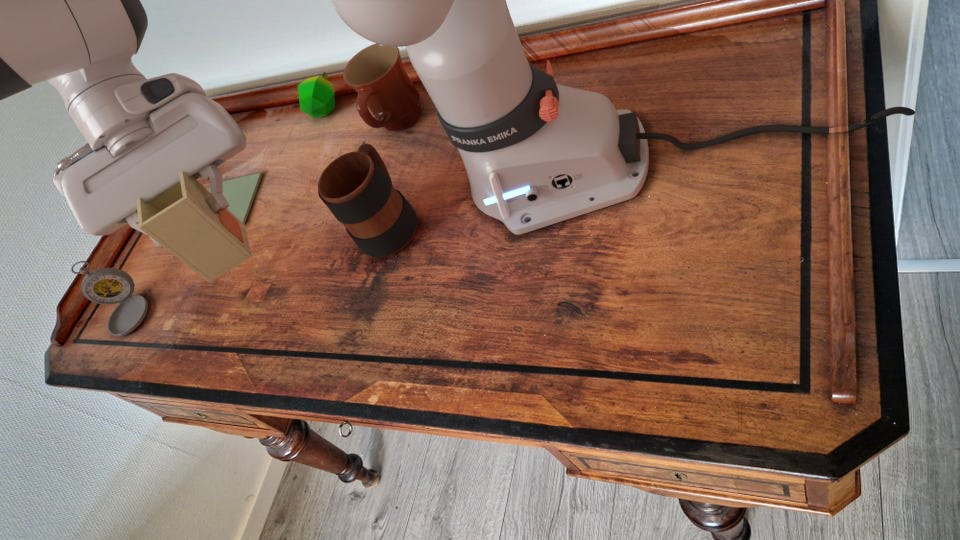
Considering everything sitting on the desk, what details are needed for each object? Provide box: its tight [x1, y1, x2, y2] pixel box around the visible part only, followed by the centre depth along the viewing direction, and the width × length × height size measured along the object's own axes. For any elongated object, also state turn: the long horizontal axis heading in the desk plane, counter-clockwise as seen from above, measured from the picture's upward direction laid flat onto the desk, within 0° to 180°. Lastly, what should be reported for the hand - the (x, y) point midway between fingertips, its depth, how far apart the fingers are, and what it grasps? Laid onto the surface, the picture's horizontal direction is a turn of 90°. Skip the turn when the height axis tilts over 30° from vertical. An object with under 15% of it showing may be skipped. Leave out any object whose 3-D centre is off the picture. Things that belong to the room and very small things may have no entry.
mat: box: [207, 172, 263, 226], centre depth 102 cm, size 10×10×1 cm
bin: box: [137, 171, 253, 284], centre depth 74 cm, size 6×6×11 cm
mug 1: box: [342, 43, 424, 132], centre depth 93 cm, size 12×9×10 cm
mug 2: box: [317, 142, 419, 258], centre depth 82 cm, size 9×12×12 cm
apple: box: [297, 71, 336, 119], centre depth 105 cm, size 7×6×9 cm
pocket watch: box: [70, 260, 149, 337], centre depth 92 cm, size 8×8×10 cm
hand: (194, 227), depth 73 cm, fingers closed on bin, 6 cm apart
